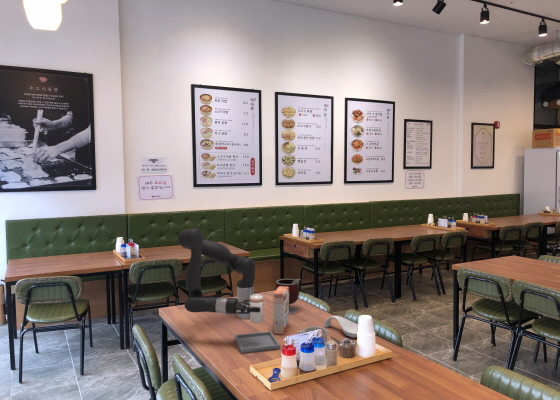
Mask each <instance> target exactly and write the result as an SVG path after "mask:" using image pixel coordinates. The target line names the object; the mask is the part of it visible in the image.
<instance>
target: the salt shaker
mask: <svg viewBox="0 0 560 400" xmlns="http://www.w3.org/2000/svg"><path fill="white" fill-rule="evenodd" d="M250 307H260V312H252V313H250V318H249V322H250V323H252V324H261V323H263V322H264V294H263V295H262V294H260V293H259V294H258V293H254V294H253V295H250Z"/></svg>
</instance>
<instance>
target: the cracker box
mask: <svg viewBox="0 0 560 400" xmlns="http://www.w3.org/2000/svg"><path fill="white" fill-rule="evenodd" d="M272 299H273V300H272V301H273V302H272V303H273V304H272V305H273V307H272V308H273V309H272V311H273V312H272V334H273V335H284V334H285V333H286V331H287V329H288V327H289V323H290V322H289V316H290V314H289V287H282V286H279V287H278V288H277V289H276V291H274V292H273V297H272Z"/></svg>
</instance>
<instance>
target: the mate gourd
mask: <svg viewBox="0 0 560 400" xmlns="http://www.w3.org/2000/svg"><path fill="white" fill-rule="evenodd" d="M299 281H301V278H298V279H293V278H281V279H278V280H276V284H275V289H274V290H275V291H276V289H277V288H278V287H279V286H282V287H289V315H292V313H293V314H296V313H298V312H299V309H298V307H296V306H291V305H293V304H295V303H296V302H297V301H298V300H299V297H300V283H299ZM275 291H274V292H275ZM297 311H298V312H297Z"/></svg>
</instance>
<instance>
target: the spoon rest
mask: <svg viewBox="0 0 560 400" xmlns="http://www.w3.org/2000/svg"><path fill="white" fill-rule="evenodd" d="M333 319H334V320H336V321H337V322H338V324H339V326H340V328H341V330H342V332H343V333H344V334H345V336H347V337H348V336H349V337H348V338H352V339H354V338H355V339H356V337H357V330H358V323H355V322H353V321H351V320H349V319H347V318H345V317H342V316H340V315H332V316H329V317H327V318H326V320H325V321H324V324H323V328H324V329H326V328H329V327H331V323H332V320H333Z"/></svg>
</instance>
